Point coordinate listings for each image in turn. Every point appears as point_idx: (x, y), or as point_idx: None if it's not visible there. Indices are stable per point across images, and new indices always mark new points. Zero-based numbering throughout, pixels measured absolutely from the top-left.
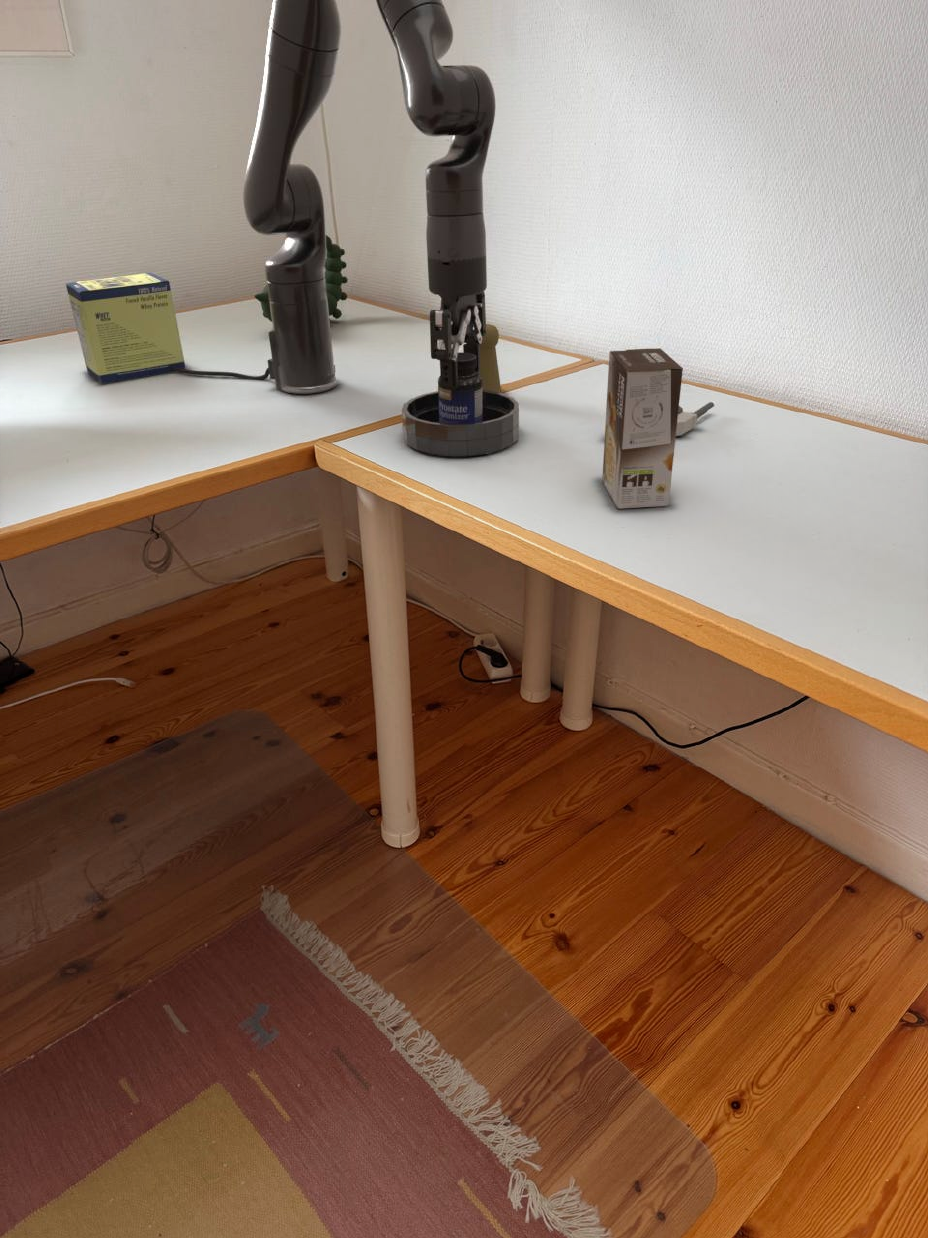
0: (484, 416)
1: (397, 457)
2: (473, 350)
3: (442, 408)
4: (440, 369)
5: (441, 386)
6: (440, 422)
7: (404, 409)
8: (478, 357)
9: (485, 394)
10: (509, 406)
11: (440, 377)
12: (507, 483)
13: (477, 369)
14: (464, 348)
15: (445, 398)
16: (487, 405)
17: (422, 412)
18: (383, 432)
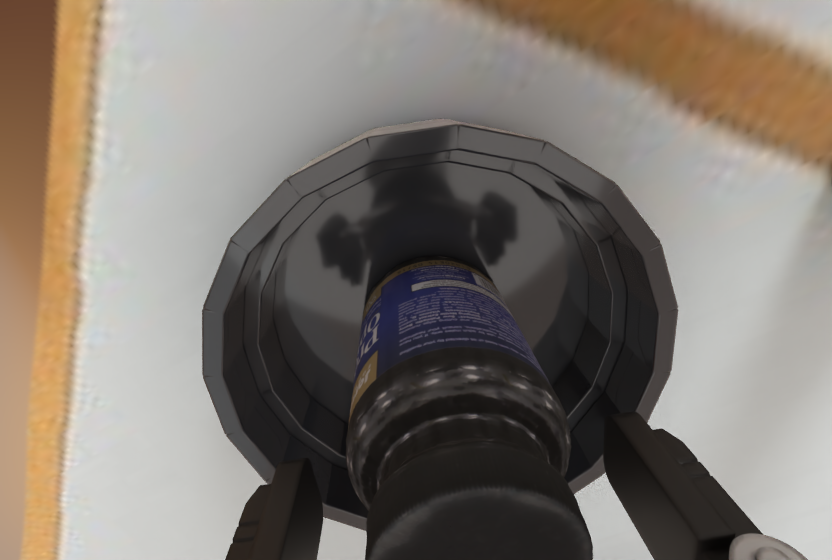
0: (594, 323)
1: (177, 223)
2: (668, 557)
3: (361, 348)
4: (254, 544)
5: (278, 464)
6: (374, 302)
7: (294, 189)
8: (645, 539)
9: (646, 362)
10: (574, 450)
11: (387, 411)
12: (210, 533)
13: (611, 477)
14: (679, 522)
15: (352, 394)
16: (623, 346)
17: (471, 161)
18: (362, 13)
